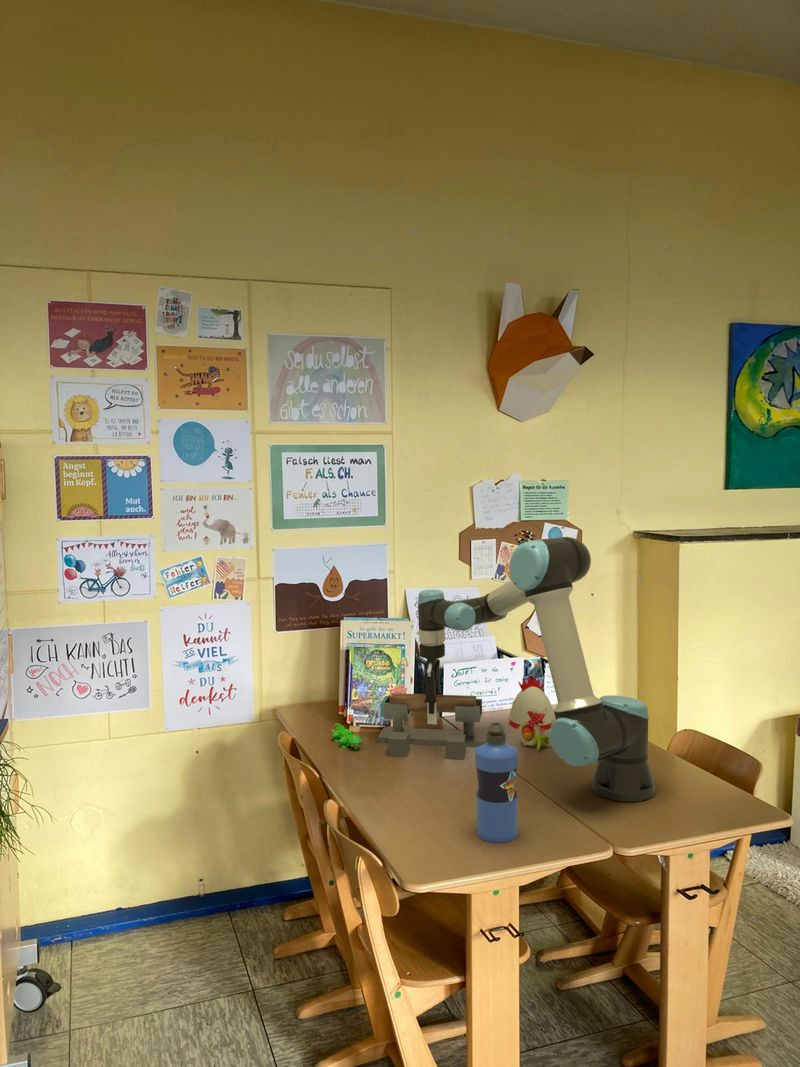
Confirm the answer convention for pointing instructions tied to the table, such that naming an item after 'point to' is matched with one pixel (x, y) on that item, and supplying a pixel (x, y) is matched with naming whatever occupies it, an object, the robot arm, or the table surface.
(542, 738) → the bird rattle
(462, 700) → the walnut rail
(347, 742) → the crocodile figurine
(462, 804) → the table surface
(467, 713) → the rail stand
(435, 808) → the table surface
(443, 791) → the table surface
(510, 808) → the water bottle
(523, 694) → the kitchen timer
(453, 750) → the rail rest
